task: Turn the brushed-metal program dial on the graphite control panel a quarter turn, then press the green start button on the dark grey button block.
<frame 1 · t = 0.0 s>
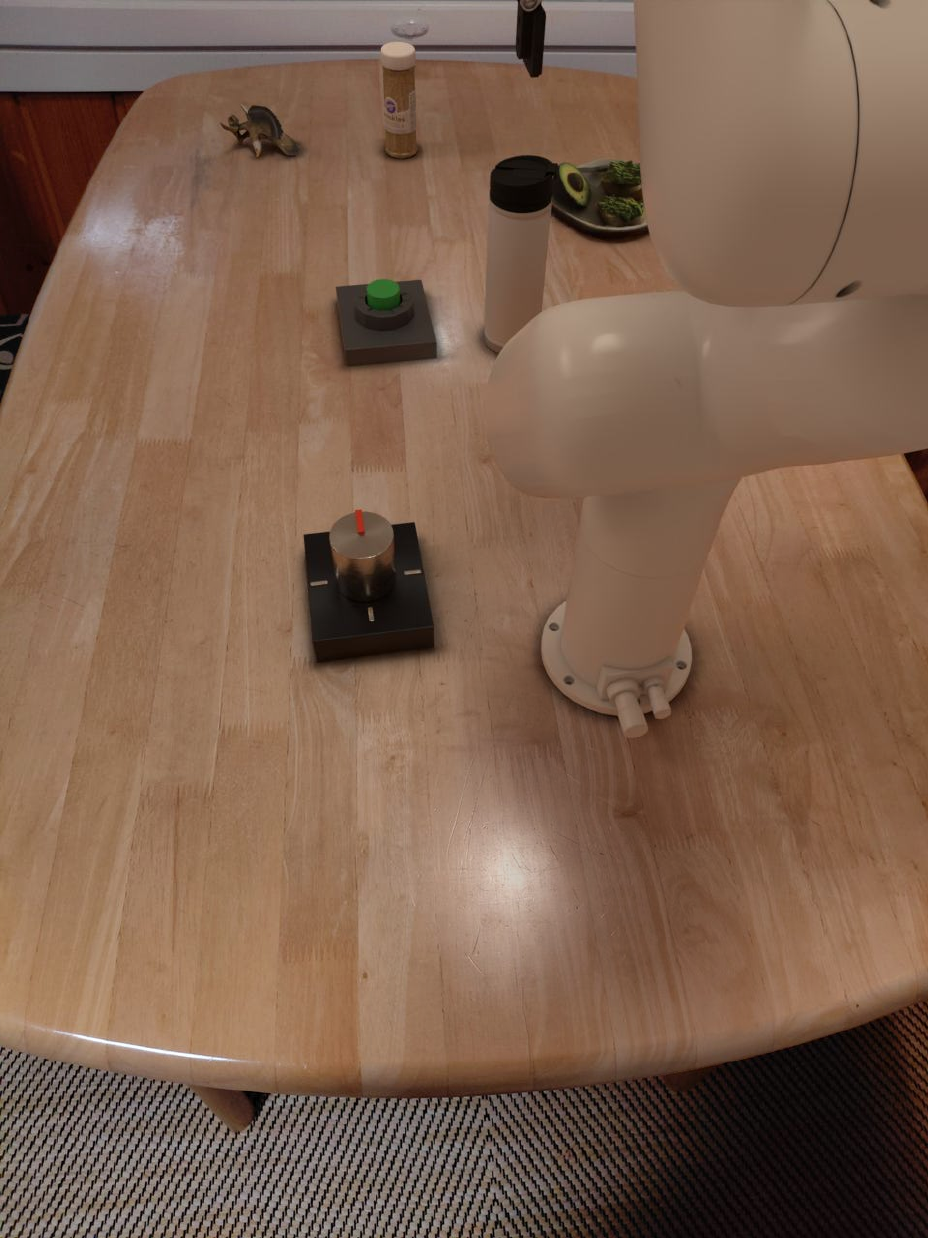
hand: (600, 64, 64), 37 cm above the table, tool pointing down, fingers open, 9 cm apart
program dial: (363, 555, 77), point 6 cm above the table, hinge at 0.0°
avocado toast plate: (605, 206, 124), on the table
brown horned dinosaur figurine: (265, 151, 131), on the table
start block: (385, 329, 106), on the table
travel mug: (512, 341, 105), on the table
dial panel: (368, 600, 82), on the table
glasses: (592, 437, 96), on the table
start button: (383, 294, 103), point 4 cm above the table, slide at 0.1 cm
sprinkles bottle: (401, 152, 132), on the table
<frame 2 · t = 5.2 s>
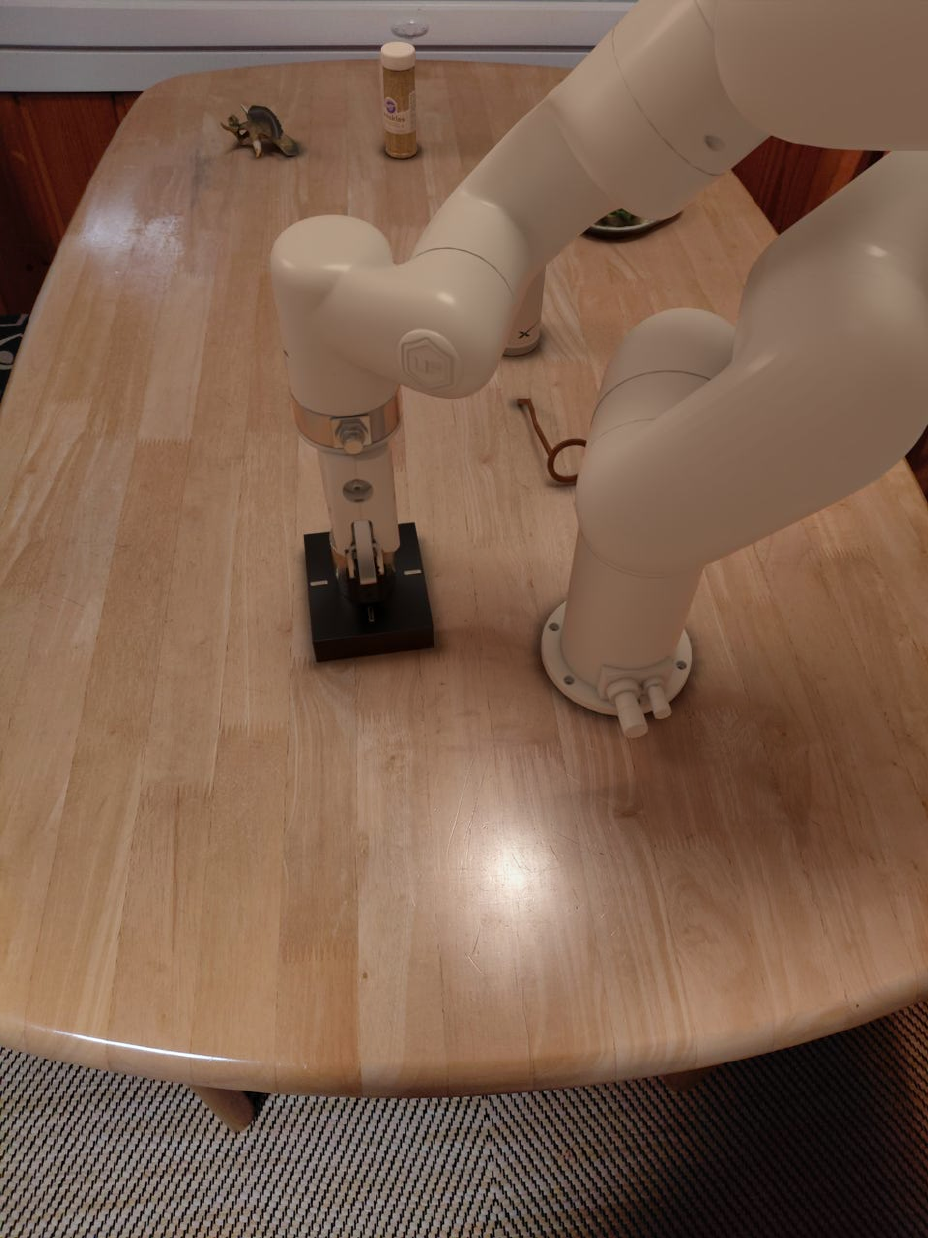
hand: (365, 570, 79), 4 cm above the table, tool pointing down, fingers closed on program dial, 5 cm apart
program dial: (363, 555, 77), point 6 cm above the table, hinge at -0.1°, touching gripper
everything else where it was.
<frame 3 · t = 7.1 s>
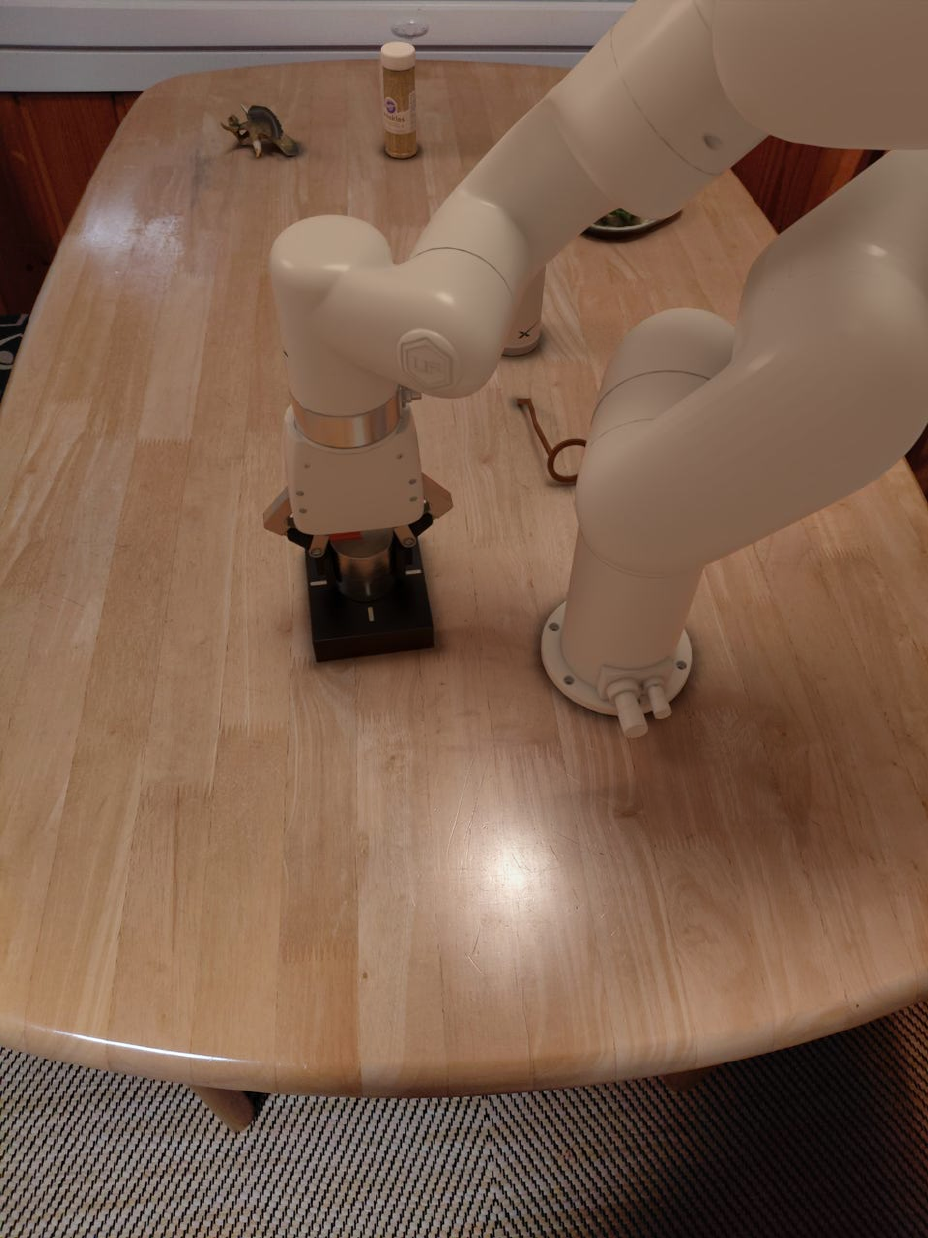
hand: (365, 570, 79), 4 cm above the table, tool pointing down, fingers closed on program dial, 5 cm apart
program dial: (363, 555, 77), point 6 cm above the table, hinge at 90.0°, touching gripper
everything else where it was.
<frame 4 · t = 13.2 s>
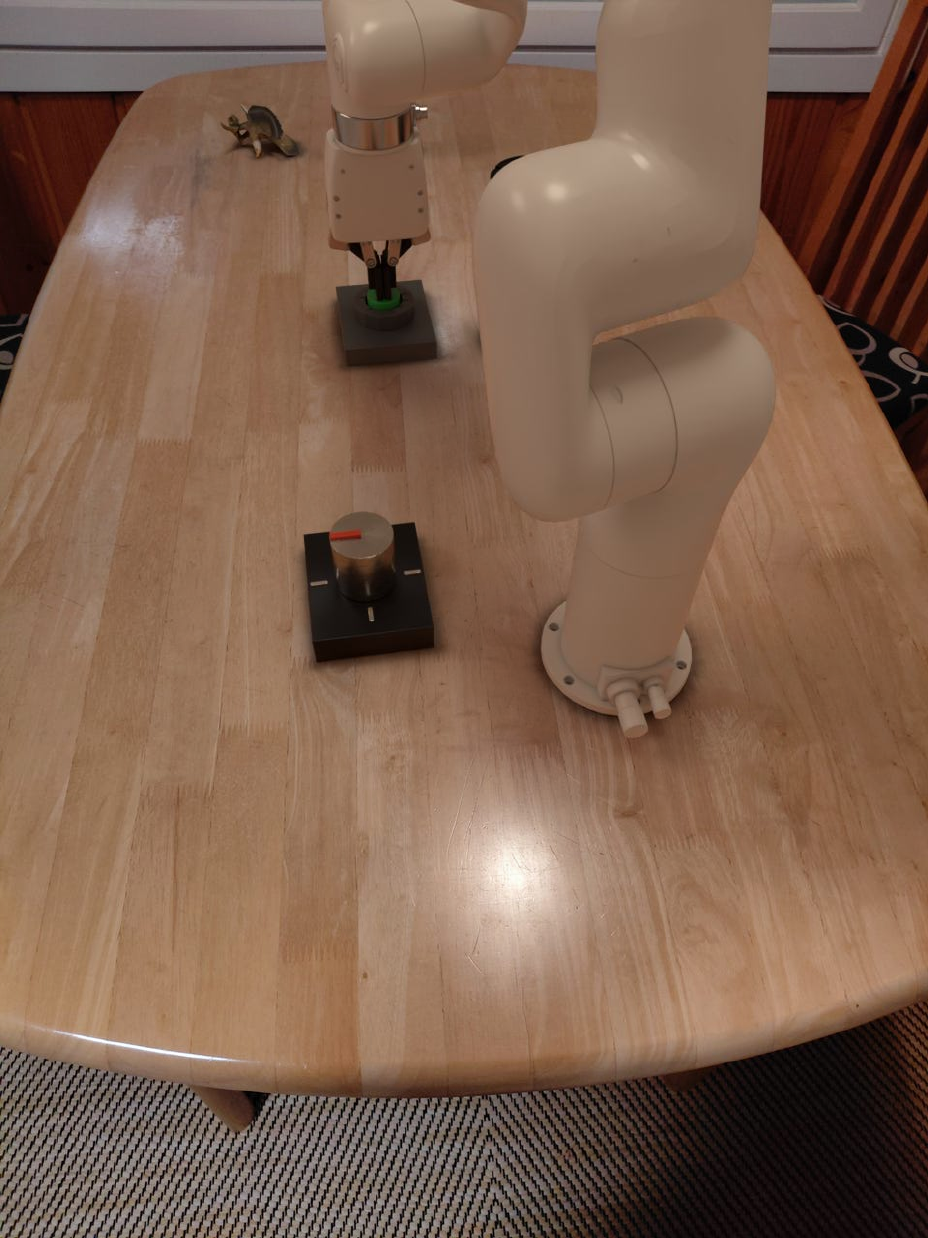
hand: (382, 292, 102), 5 cm above the table, tool pointing down, fingers closed
program dial: (363, 555, 77), point 6 cm above the table, hinge at 90.0°
start button: (383, 300, 103), point 4 cm above the table, slide at -0.6 cm, touching gripper
everything else where it was.
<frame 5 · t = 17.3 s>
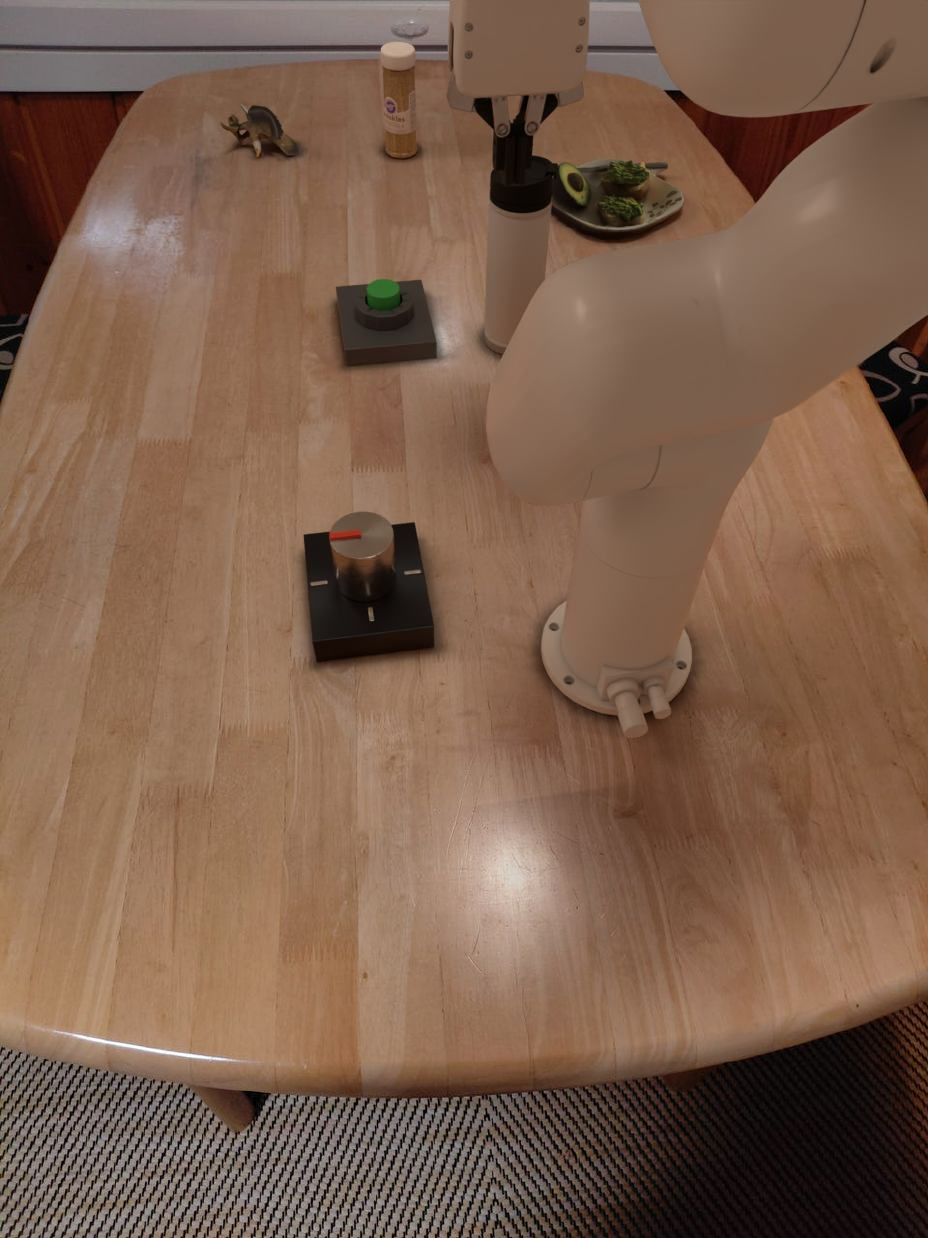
hand: (510, 176, 78), 25 cm above the table, tool pointing down, fingers closed
start button: (383, 294, 103), point 4 cm above the table, slide at 0.1 cm
everything else where it was.
at the end: program dial at +90° (first picture: +0°); start button pushed in 1.1 cm at the most during the clip, back to where it started at the end; start button slide at 0.1 cm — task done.
